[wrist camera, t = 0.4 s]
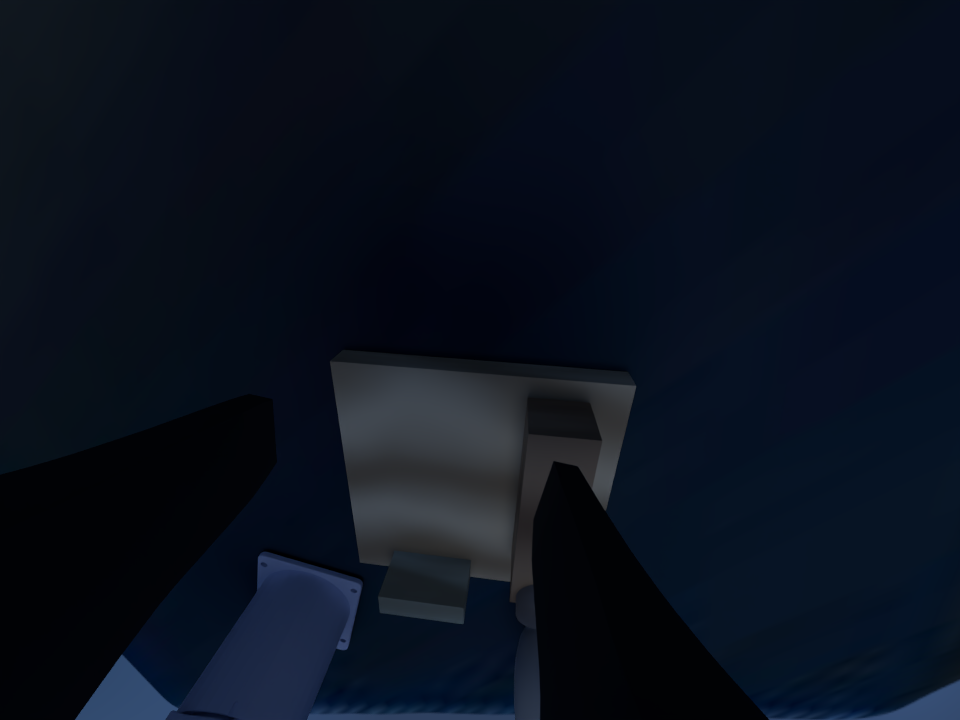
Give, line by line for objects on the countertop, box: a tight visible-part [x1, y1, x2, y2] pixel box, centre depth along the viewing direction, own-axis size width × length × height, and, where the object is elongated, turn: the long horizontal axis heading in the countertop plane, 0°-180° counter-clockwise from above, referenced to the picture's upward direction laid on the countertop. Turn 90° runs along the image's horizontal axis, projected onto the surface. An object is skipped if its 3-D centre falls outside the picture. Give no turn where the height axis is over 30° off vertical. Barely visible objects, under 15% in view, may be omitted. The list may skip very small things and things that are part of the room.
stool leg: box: [510, 398, 602, 629], centre depth 18 cm, size 12×3×4 cm, turn 178°
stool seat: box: [330, 350, 636, 624], centre depth 20 cm, size 15×15×4 cm
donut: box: [514, 627, 540, 720], centre depth 23 cm, size 10×4×10 cm, turn 19°
